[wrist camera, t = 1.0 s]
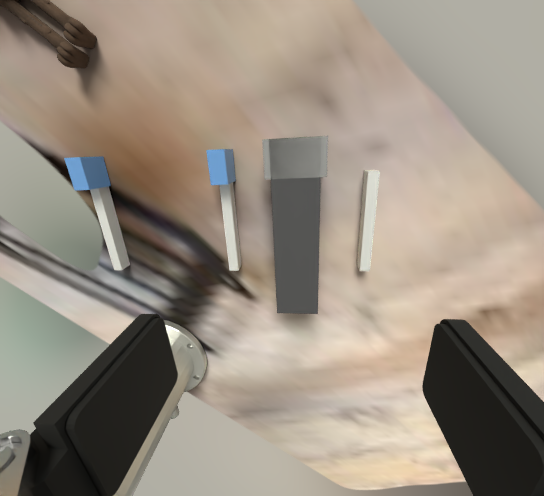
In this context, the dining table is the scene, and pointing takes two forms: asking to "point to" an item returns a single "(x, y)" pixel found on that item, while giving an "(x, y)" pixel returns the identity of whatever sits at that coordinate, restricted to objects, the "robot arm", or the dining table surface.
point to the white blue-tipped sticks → (222, 172)
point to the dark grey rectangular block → (296, 217)
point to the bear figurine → (74, 33)
